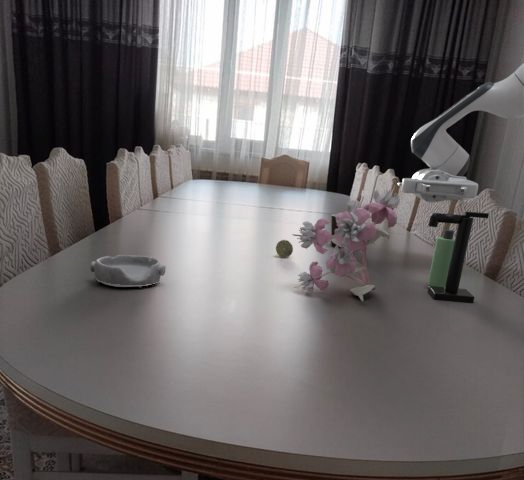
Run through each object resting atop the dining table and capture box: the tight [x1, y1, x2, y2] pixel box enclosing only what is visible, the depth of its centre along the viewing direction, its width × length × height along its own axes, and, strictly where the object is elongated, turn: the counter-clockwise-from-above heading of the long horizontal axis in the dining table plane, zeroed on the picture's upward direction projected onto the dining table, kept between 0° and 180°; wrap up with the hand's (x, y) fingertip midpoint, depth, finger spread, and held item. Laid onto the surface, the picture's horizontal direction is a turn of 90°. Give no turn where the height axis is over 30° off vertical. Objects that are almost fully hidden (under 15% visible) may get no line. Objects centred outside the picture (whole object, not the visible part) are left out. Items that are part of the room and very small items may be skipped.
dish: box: [90, 254, 167, 289], centre depth 114 cm, size 14×14×5 cm
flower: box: [291, 184, 401, 302], centre depth 115 cm, size 20×22×25 cm
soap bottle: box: [427, 229, 455, 287], centre depth 131 cm, size 5×5×14 cm
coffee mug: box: [330, 213, 366, 249], centre depth 174 cm, size 12×9×10 cm
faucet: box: [427, 210, 490, 304], centre depth 119 cm, size 12×7×20 cm, turn 85°
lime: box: [275, 239, 294, 259], centre depth 152 cm, size 4×5×5 cm
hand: (445, 189), depth 136 cm, fingers open, 8 cm apart
